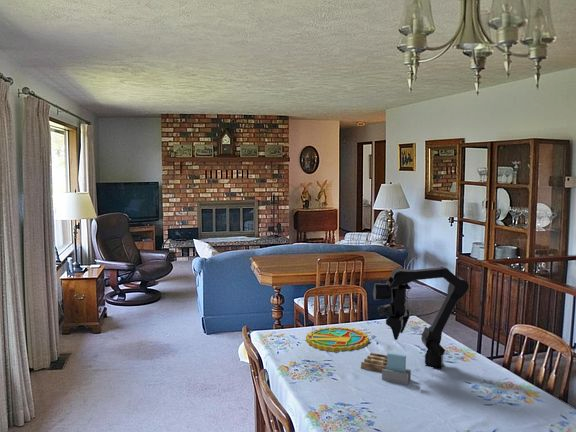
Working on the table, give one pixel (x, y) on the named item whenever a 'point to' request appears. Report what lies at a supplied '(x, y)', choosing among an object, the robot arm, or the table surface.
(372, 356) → the offcut front
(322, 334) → the decorative plaque
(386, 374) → the holder
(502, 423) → the table surface
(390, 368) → the tall sheet
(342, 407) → the table surface
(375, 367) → the rack
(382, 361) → the offcut small
